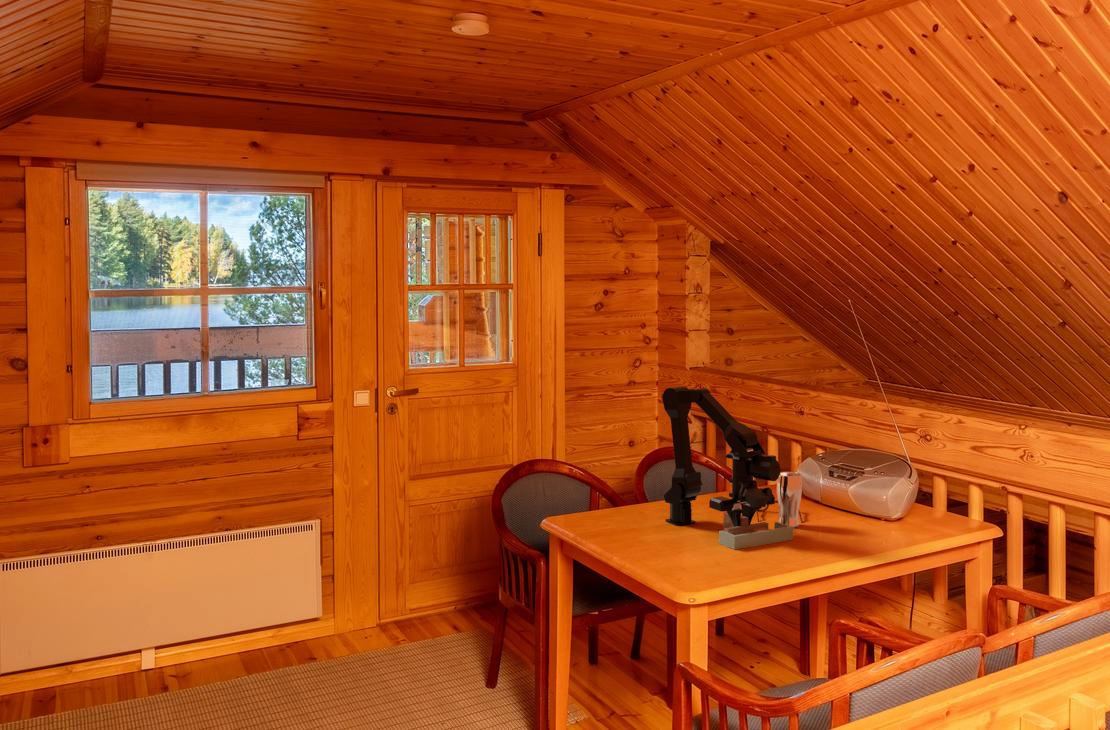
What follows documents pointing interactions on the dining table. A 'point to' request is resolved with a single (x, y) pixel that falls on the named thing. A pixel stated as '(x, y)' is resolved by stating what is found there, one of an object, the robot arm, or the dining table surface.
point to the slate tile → (739, 533)
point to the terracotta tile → (760, 529)
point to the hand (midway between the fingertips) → (741, 531)
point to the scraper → (741, 525)
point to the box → (757, 537)
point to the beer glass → (789, 497)
